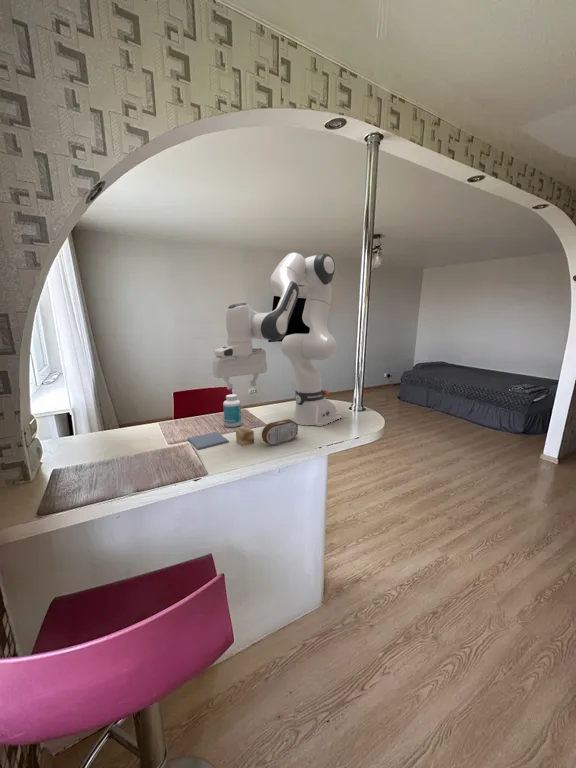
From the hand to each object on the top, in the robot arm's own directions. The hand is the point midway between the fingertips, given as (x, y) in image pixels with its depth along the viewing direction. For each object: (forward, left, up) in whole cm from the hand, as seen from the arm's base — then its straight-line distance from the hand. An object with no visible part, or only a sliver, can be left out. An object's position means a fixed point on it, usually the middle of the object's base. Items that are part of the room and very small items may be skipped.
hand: (241, 387), depth 121 cm
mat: (+11, -10, -22) cm, 26 cm away
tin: (-11, +8, -22) cm, 26 cm away
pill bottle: (-5, -22, -22) cm, 31 cm away
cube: (0, 0, -22) cm, 22 cm away
